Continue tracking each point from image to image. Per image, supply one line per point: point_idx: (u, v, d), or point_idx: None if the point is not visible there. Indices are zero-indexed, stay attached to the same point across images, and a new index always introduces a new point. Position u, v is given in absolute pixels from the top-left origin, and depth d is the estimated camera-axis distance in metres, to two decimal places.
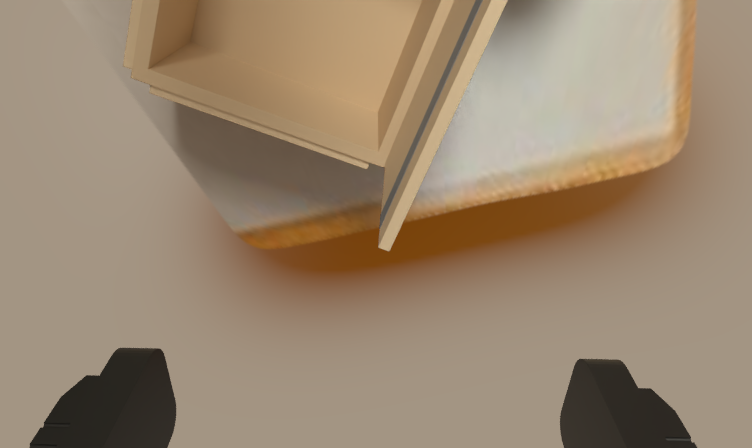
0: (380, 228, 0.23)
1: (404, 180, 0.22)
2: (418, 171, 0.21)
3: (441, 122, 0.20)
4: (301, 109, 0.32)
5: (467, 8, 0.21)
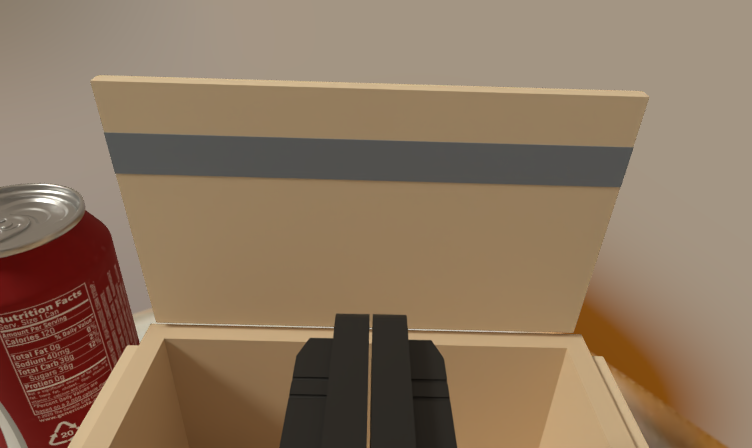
0: (630, 143, 0.16)
1: (544, 125, 0.16)
2: (516, 90, 0.15)
3: (444, 88, 0.15)
4: None
5: (323, 210, 0.18)
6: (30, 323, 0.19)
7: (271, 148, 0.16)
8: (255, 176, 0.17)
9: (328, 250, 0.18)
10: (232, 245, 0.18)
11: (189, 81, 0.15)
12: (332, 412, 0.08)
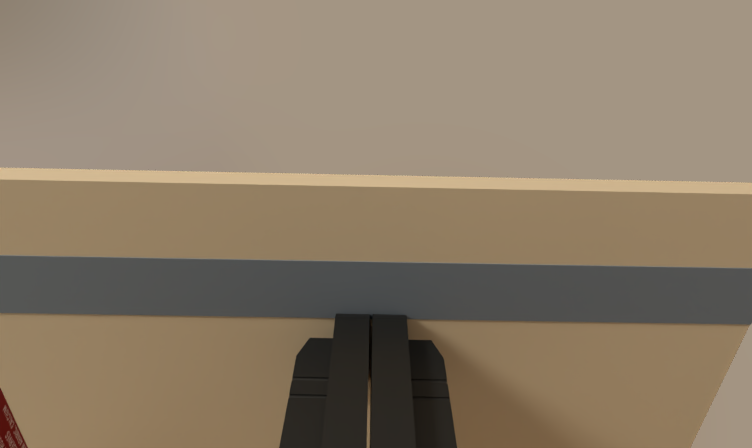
0: None
1: (640, 238, 0.10)
2: (598, 186, 0.10)
3: (482, 183, 0.10)
4: None
5: (293, 359, 0.11)
6: None
7: (207, 275, 0.10)
8: (186, 313, 0.11)
9: None
10: (157, 407, 0.12)
11: (69, 176, 0.09)
12: (332, 412, 0.08)
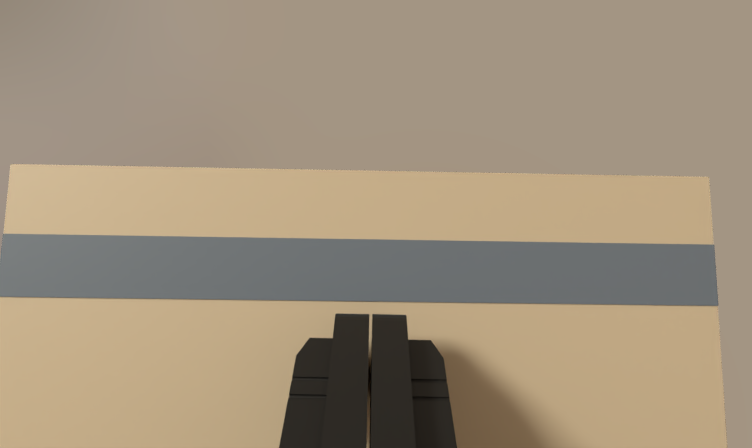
0: (708, 238, 0.12)
1: (589, 216, 0.12)
2: None
3: None
4: None
5: (295, 354, 0.12)
6: None
7: (228, 253, 0.12)
8: (200, 299, 0.12)
9: None
10: (143, 426, 0.11)
11: None
12: (331, 412, 0.08)
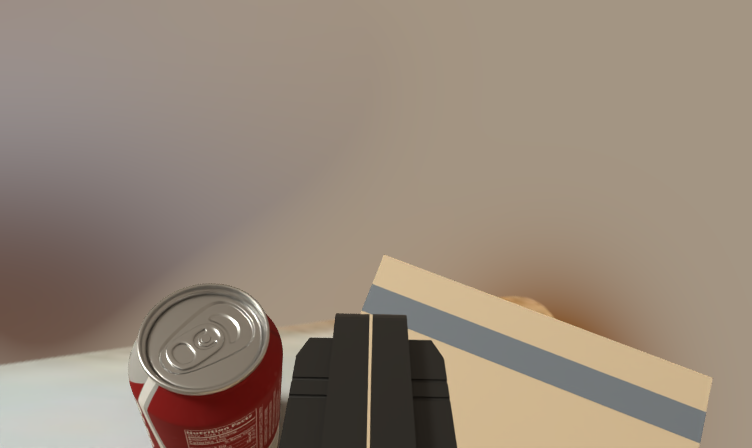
0: (704, 408, 0.24)
1: (645, 374, 0.24)
2: (627, 346, 0.25)
3: (583, 330, 0.25)
4: None
5: (484, 386, 0.24)
6: (210, 436, 0.23)
7: (467, 328, 0.25)
8: (448, 344, 0.25)
9: (475, 422, 0.24)
10: None
11: None
12: (331, 412, 0.08)
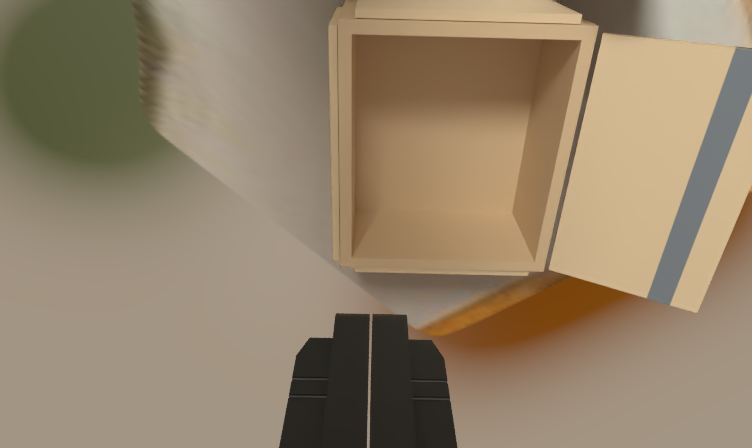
0: (672, 304, 0.35)
1: (694, 272, 0.33)
2: (718, 262, 0.32)
3: (730, 232, 0.31)
4: (461, 243, 0.40)
5: (670, 162, 0.31)
6: None
7: (723, 144, 0.29)
8: (706, 130, 0.29)
9: (640, 158, 0.32)
10: (658, 103, 0.30)
11: None
12: (332, 412, 0.08)
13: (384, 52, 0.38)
